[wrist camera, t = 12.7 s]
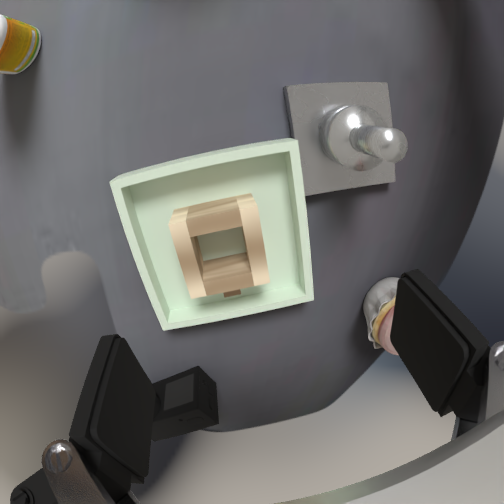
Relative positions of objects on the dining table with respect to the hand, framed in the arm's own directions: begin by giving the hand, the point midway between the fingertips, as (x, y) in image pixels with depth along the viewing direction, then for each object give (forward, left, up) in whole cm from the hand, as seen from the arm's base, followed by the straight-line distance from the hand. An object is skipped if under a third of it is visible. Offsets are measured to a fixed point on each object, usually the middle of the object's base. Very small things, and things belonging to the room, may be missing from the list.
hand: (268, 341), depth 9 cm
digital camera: (+13, +23, -20) cm, 33 cm away
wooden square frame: (+2, +4, -19) cm, 19 cm away
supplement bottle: (+18, -21, -19) cm, 34 cm away
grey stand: (-11, -4, -19) cm, 23 cm away
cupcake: (-16, +16, -19) cm, 30 cm away
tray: (+2, +4, -19) cm, 20 cm away
